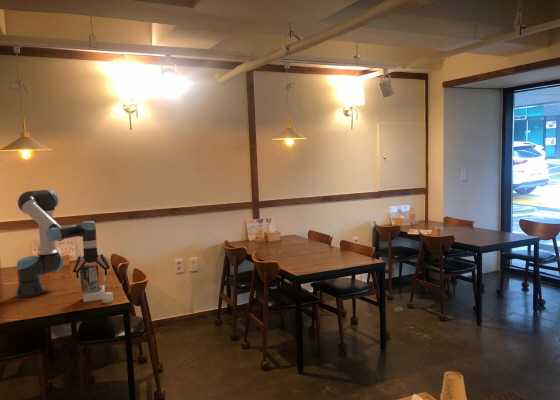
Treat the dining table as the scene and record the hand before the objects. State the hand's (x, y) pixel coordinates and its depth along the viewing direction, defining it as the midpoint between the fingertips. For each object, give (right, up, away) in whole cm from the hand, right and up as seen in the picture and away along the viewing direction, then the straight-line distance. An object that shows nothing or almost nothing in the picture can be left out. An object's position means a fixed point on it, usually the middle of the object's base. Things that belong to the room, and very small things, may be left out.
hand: (92, 281), depth 260 cm
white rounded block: (+13, -10, -9) cm, 18 cm away
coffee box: (-1, -7, 0) cm, 7 cm away
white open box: (+1, -9, +1) cm, 9 cm away
